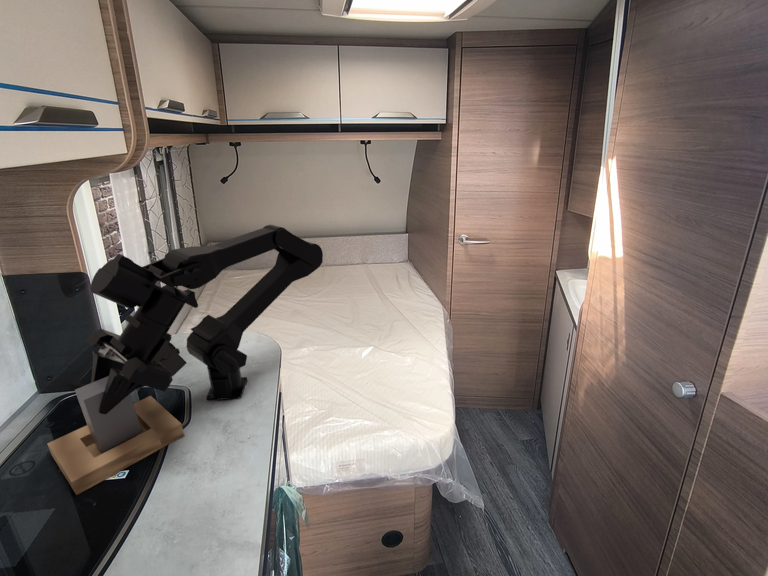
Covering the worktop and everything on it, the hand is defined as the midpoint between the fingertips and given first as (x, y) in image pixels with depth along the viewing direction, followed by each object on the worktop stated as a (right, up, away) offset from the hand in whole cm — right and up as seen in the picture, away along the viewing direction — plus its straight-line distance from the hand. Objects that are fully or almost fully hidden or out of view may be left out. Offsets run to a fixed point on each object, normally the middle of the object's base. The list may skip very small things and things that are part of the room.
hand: (97, 407), depth 67 cm
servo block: (+1, -6, +4) cm, 7 cm away
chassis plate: (+1, -7, +4) cm, 9 cm away
